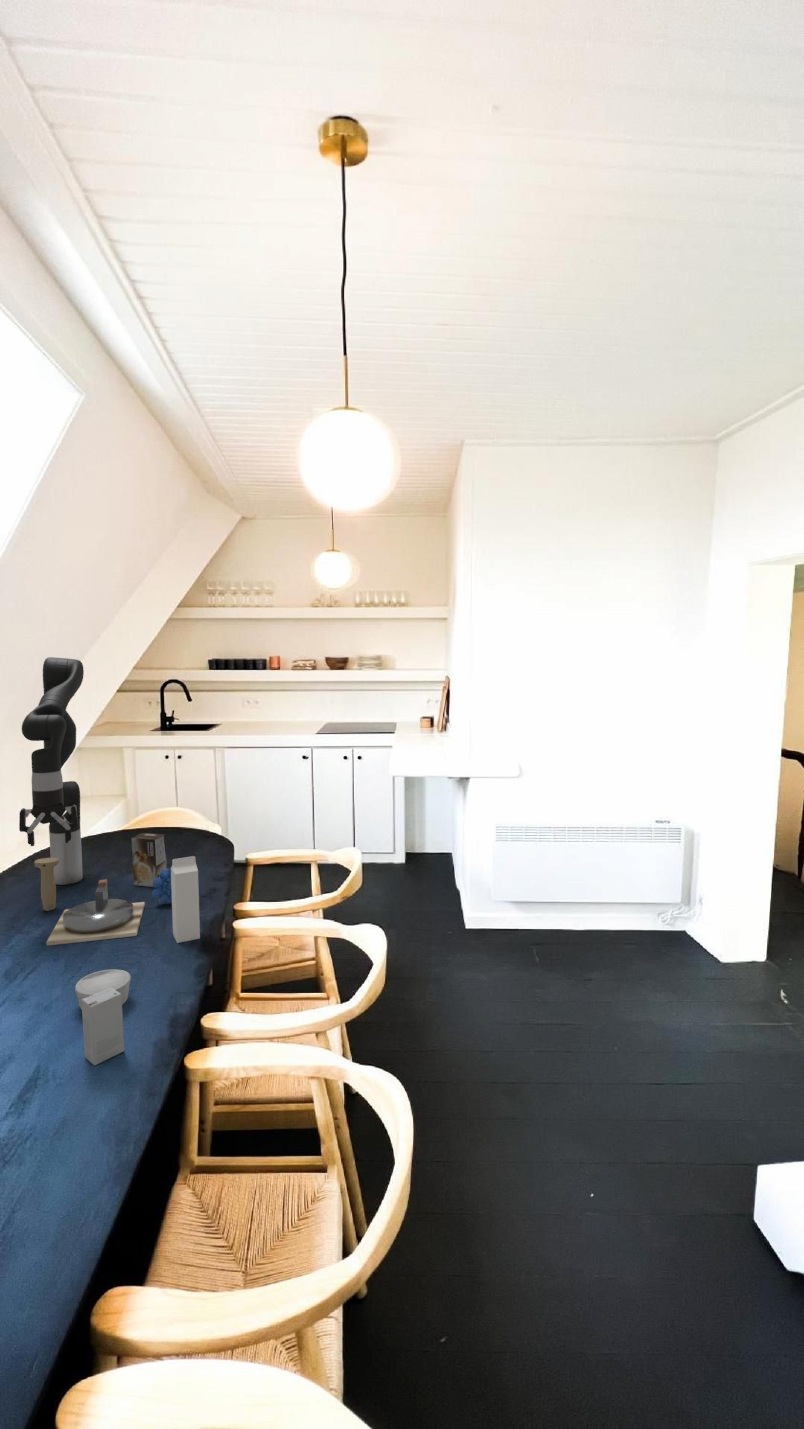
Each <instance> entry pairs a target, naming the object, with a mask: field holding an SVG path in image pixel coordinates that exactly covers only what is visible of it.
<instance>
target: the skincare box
mask: <svg viewBox="0 0 804 1429" xmlns="http://www.w3.org/2000/svg"><path fill="white" fill-rule="evenodd" d="M81 1002H82V1009H81V1013H82V1014H81V1015H82V1031H83V1048H84V1058H86V1059H87V1060H88V1062H90V1063H91V1064H92V1065H93V1066H96V1065H99V1064H101V1063H103V1062H105V1061H106V1060H110V1059H111V1058H112V1057H115V1056H117V1055H119V1054H121V1053H123V1052H124V1051H125V1040H124V1039H125V1036H124V1035H125V1034H124V1020H123V1019H124V1016H123V1005H122V995H121V994H120V993H119V992H118V991H116V990H115V989H113V988H109V989H106V990H104V991H101V992H99V993H96V994H94V995H92V996H89V997H87V998H84V999H82V1000H81Z"/></svg>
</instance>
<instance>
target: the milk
mask: <svg viewBox="0 0 804 1429" xmlns="http://www.w3.org/2000/svg"><path fill="white" fill-rule="evenodd" d="M196 861H197V860H196V856H194V855H192V856H186V857H179V858H173V859H172V865H171V866H170V870H171V890H172V904H171V913H172V916H171V917H172V936H173V937H174V939H175V941H176V944H179V943H183V942H190V941H195V940H199V939H200V938H201V929H200V927H201V926H200V894H199V893H200V892H199V890H200V889H199V869H198V865H197V862H196Z"/></svg>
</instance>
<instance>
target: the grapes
mask: <svg viewBox="0 0 804 1429" xmlns="http://www.w3.org/2000/svg"><path fill="white" fill-rule="evenodd" d="M153 886H154V887H153V888H154V889H153V890H152V892H151V894H152V897H153V898H154V899H158V903H159V904H160V905H165V904H167V903H168V902H169V903H170V904H171V905H172V890H171V869H169V868H168V867H167V868H166V869H163V870H162V871H161V873H160V877H159V878H156V879H155V880H154V881H153Z"/></svg>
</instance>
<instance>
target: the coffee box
mask: <svg viewBox="0 0 804 1429" xmlns="http://www.w3.org/2000/svg"><path fill="white" fill-rule="evenodd" d="M131 851H132V871H133V873H132V874H133V885H134V886H138V887H139V886H140V887H141V886H142V887H151V888H155V887H154V886H153V881H154V880H155V879H156V878H159V877H160V873H161V871H162V870H163V869H166V868H167V869H168V864H167V863H168V862H167V860H168V859H167V838H166V834H160V833H152V832H151V833H149V832H142V833H141V832H140V833H139V834H136V835H134V836H133V837H131Z"/></svg>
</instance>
